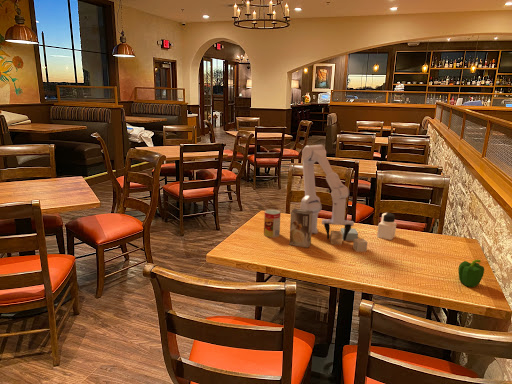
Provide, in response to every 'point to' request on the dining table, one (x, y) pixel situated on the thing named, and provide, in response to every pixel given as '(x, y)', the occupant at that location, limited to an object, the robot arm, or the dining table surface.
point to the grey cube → (360, 245)
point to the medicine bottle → (387, 226)
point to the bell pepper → (470, 273)
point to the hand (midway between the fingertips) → (336, 239)
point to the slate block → (350, 234)
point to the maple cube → (336, 237)
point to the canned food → (272, 223)
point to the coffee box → (300, 227)
